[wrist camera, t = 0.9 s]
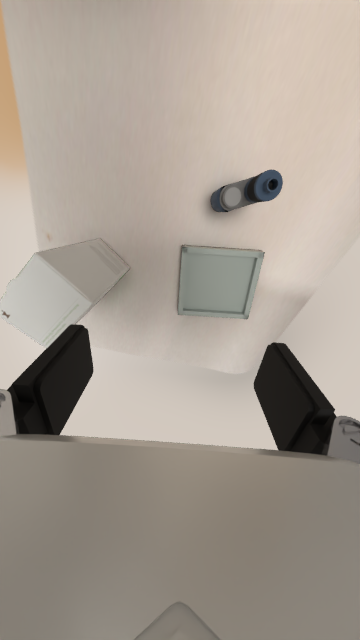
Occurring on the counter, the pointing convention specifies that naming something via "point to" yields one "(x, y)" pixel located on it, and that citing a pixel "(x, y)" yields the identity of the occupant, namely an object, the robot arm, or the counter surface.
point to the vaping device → (247, 191)
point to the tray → (218, 281)
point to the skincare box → (60, 288)
